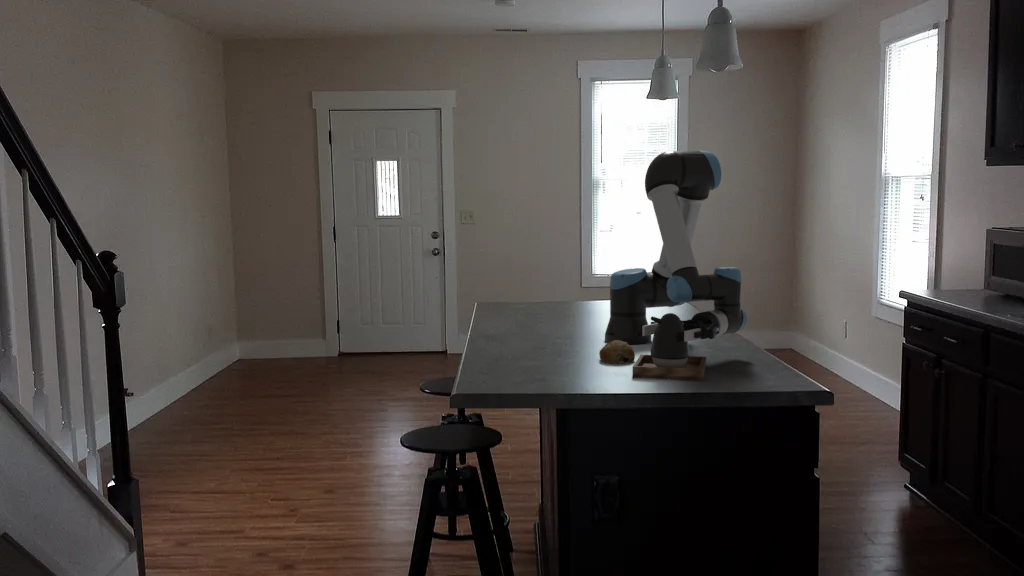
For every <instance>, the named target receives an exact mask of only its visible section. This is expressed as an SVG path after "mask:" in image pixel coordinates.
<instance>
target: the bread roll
mask: <svg viewBox="0 0 1024 576" xmlns="http://www.w3.org/2000/svg"><path fill="white" fill-rule="evenodd" d="M598 355H599V360H600V361H601V362H602V363H603V364H604V363H606V364H610V365H611V364H612V365H625V364H631V363H634V361H635V357H636V353H635V351H634V350H633V347H632V346H631V345H630V344H628V343H627V342H623V341H620V340H614V341H611V342H606V344H605V345H604V346H603V347H602V348H601V349H600V350H599V354H598Z"/></svg>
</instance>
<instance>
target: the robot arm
mask: <svg viewBox="0 0 1024 576" xmlns="http://www.w3.org/2000/svg"><path fill="white" fill-rule="evenodd" d="M721 181H722V168H721V162H720V161H719V159H718V157H717V156H716V155H715V154H714V153H713V152H712V151H703V150H698V151H697V150H689V151H683V150H682V151H681V150H680V151H679V150H678V151H677V150H676V151H674V150H670V151H669V150H667V151H664V152H662V153H660V154H658V155H656V157H654V158H653V160H652V161H650V164H649V165H648V168H647V169H646V172H645V179H644V189H645V194H646V197H647V199H648V200H649V201H651V203H652V206H653V210H654V214H655V218H656V221H657V225H658V229H659V233H660V235H661V236H660V237H661V240H662V247H661V250H660V255H659V259H658V260H657V261H655V262H654V263H653V265H652V269H651V271H649V272H647V269H645V268H643V267H642V268H641V267H639V268H638V267H636V268H627V269H622V270H618V271H615V272H613V273H611V276H610V280H609V281H610V282H609V292H610V293H609V313H610V314H609V315H610V317H609V320H608V323H607V327H606V330H605V332H604V341H605V342H606V343H609V342H611V341H614V340H620V341H623V342H627V343H628V345H641V344H647V343H650V342H651V343H652V335H654V332H655V329H656V327H657V325H658V323H656V322H654V321H650V324H649V323H648V319H647V309H649V308H650V309H651V308H662V307H663V308H664V307H665V308H666V307H667V308H668V307H669V308H672V307H676V306H682V305H684V304H687V303H693V302H705V301H706V302H710V301H713V309H711V310H706V311H703V312H702V311H701V312H697V313H695V314H694V315H693V316H692V318H691V319H687V320H686V319H685V320H681V322H682V324H683V326H684V329H685V331H684V341H685V342H687V341H688V342H691V341H696V340H699V339H700V340H706V339H710V340H714V339H716V337H718V336H722V335H728V334H734V333H737V332H740V331H742V330H743V329H744V328H745V327H746V326H747V323H748V316H747V314H746V311H745V310H744V309H743V308H742V306H741V290H742V289H741V287H742V286H741V285H742V273H741V270H740V268H739V267H736V266H715V268H714V271H713V273H711V274H709V273H708V274H700V273H699V270H698V266H697V263H696V259H695V256H694V252H693V249H692V245H691V244H692V241H693V237H694V234H695V229H696V226H697V225H696V224H697V222H698V218H699V213H700V210H701V208H702V207H701V206H702V202H704V201H706V200H707V199H708V198H709V196H710V191H714V190H715V189H717V188H718V187H719V186H720V183H721Z"/></svg>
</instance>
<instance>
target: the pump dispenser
mask: <svg viewBox="0 0 1024 576" xmlns="http://www.w3.org/2000/svg"><path fill="white" fill-rule="evenodd" d="M650 321H651V322H656V323H658V325H657V327H656V329H655V332H654V334H653V337H652V339H651V347H650V348H651V349H650V355H651V356H652V359H653V362H654V364H655V365H656V366H657V367H669V368H682V367H684V365H685V364H686V362H687V359H688V357H689V356H690V347H689V341H687V342H685V341H684V331H685V329H684V326H683V324H682V322H681V321H682V319H681V318H680V317H679V315H677V314H675V313H673V312H669V313H665V314H664V315H662V316H661V318H659V317H656V316H651V317H650Z"/></svg>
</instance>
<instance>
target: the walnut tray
mask: <svg viewBox="0 0 1024 576" xmlns="http://www.w3.org/2000/svg"><path fill="white" fill-rule="evenodd" d="M706 368H707V356H699V355H698V356H694V355H689V357H688V359H687V362H686V364H685V365H684V367H682V368H669V367H657V366H656V365H655V364H654V362H653V359H652V356H651V354H642V353H641V354H640V355H639V356H638V358H637V359H636V360H635V363H634V364H633V365H632V379H645V380H653V379H654V380H668V379H670V380H671V381H672V380H674V381H690V380H696V381H695V382H703V379H704V376H705V373H706Z"/></svg>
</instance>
